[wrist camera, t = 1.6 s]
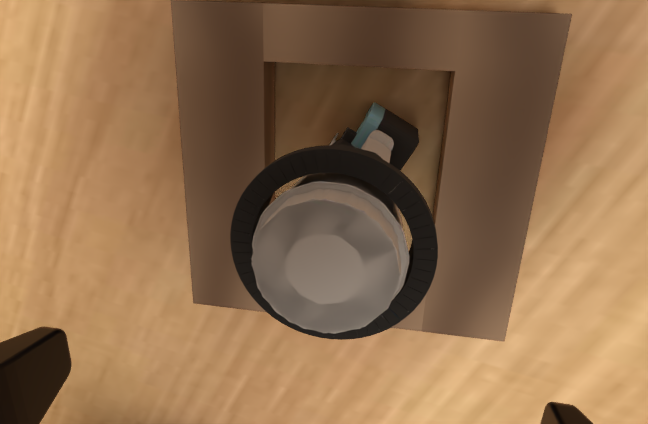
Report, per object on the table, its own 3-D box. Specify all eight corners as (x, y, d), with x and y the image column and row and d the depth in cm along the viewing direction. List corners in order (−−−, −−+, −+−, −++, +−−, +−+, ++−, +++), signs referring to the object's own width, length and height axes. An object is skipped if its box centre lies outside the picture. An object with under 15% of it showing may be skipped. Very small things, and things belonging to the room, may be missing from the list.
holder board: (206, 286, 24) (193, 303, 23) (188, 1, 20) (170, -1, 18) (498, 320, 22) (504, 341, 21) (558, 14, 18) (572, 13, 16)
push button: (365, 260, 22) (335, 427, 13) (265, 200, 22) (163, 327, 13) (452, 140, 20) (489, 243, 11) (341, 69, 20) (279, 113, 10)
